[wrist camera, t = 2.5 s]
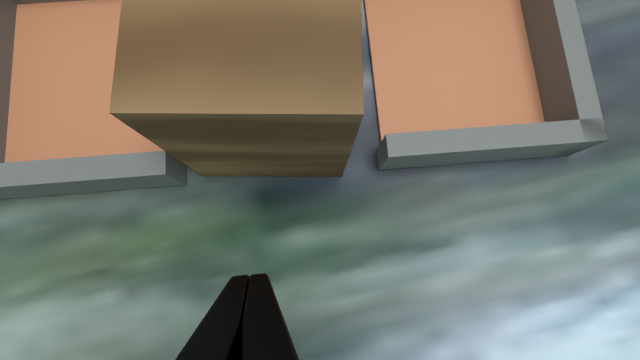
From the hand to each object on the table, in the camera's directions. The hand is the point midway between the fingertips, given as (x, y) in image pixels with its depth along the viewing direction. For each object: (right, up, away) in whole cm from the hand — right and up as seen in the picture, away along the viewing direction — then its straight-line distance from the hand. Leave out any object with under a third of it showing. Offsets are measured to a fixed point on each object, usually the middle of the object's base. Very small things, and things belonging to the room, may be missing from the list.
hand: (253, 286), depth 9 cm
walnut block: (-1, +10, +14) cm, 17 cm away
